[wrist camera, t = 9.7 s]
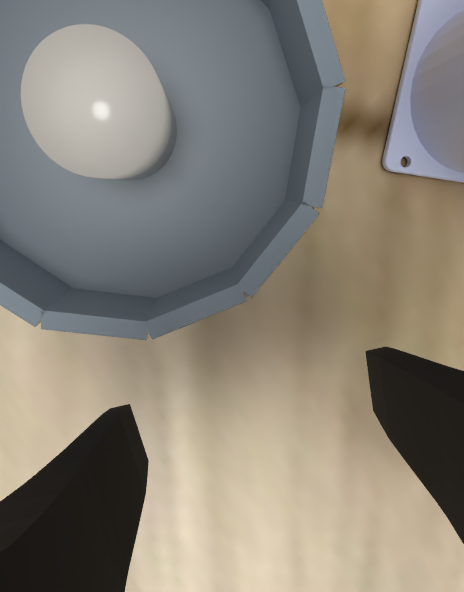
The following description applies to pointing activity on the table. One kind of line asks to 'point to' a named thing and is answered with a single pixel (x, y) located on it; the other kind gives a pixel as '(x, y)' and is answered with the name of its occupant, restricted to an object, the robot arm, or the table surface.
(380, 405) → the robot arm
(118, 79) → the pebble
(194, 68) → the bowl
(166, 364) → the table surface
